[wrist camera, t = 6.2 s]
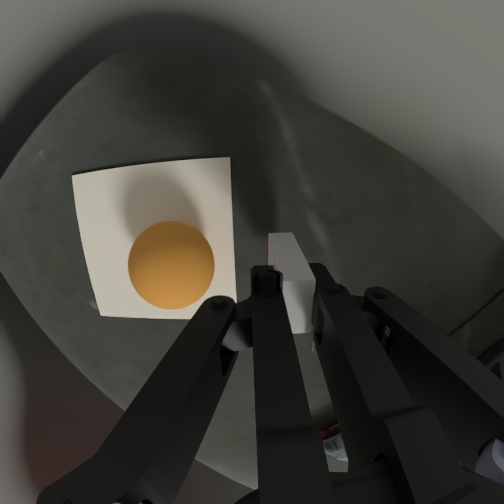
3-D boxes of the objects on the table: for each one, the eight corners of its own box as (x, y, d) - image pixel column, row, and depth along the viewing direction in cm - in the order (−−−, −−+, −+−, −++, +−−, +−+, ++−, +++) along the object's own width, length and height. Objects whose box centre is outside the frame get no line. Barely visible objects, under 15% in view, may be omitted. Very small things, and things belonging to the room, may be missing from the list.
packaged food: (409, 407, 28) (422, 434, 24) (335, 449, 31) (341, 476, 26) (389, 381, 26) (404, 413, 21) (302, 430, 29) (307, 462, 24)
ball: (101, 248, 13) (135, 215, 18) (131, 328, 16) (154, 282, 21) (199, 236, 13) (211, 204, 18) (217, 325, 16) (223, 276, 21)
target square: (230, 157, 17) (229, 157, 17) (237, 317, 22) (237, 318, 22) (73, 175, 17) (72, 175, 17) (101, 314, 22) (101, 315, 21)
